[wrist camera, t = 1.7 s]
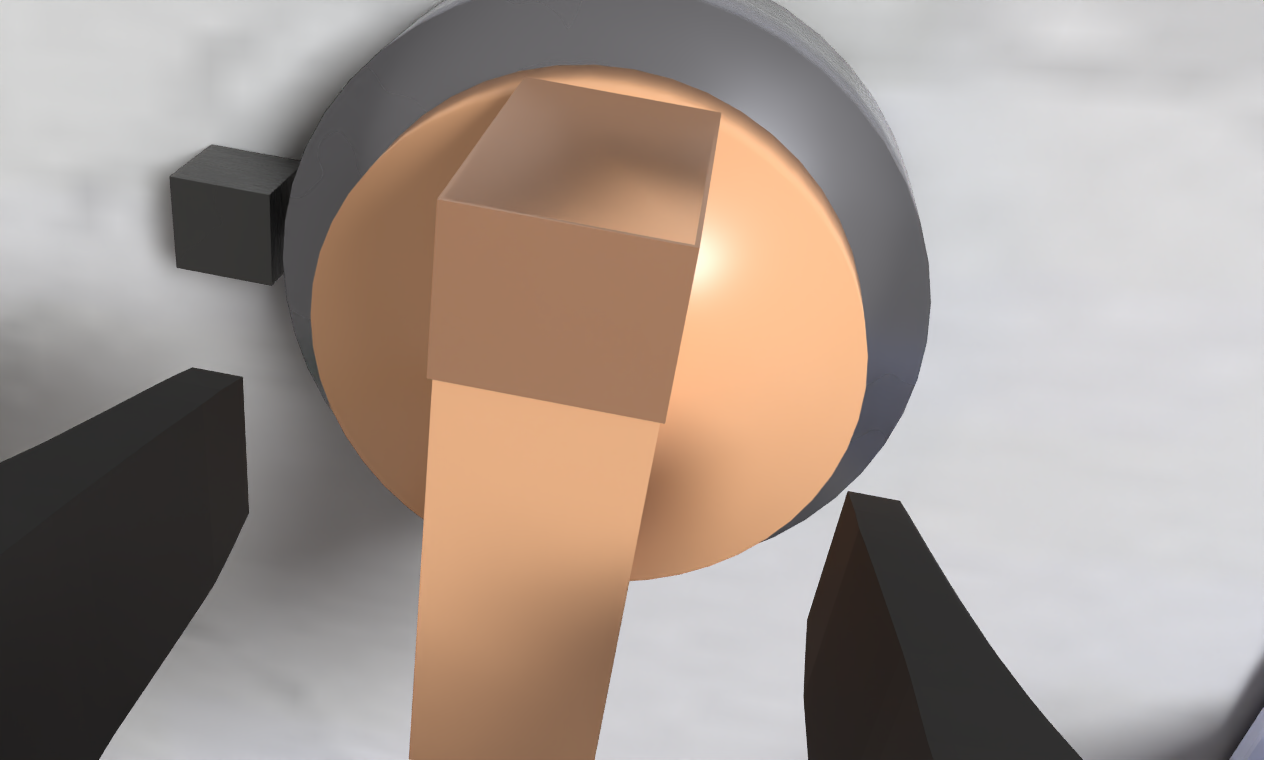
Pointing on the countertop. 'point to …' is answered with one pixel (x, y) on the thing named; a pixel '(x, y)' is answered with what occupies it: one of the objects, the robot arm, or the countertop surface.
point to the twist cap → (580, 374)
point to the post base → (609, 36)
